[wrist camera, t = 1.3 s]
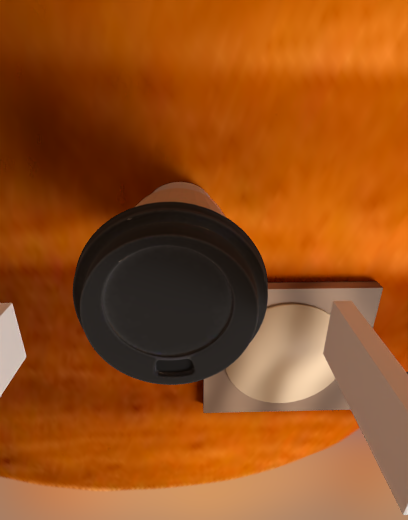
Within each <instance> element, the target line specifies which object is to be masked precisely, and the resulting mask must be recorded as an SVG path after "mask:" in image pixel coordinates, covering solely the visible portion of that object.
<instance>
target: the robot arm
mask: <svg viewBox="0 0 408 520" xmlns="http://www.w3.org/2000/svg"><path fill="white" fill-rule="evenodd" d="M323 355H324V357H325V359H326V361H327V363H328V365H329V367H330V369H331V371H332V373H333V375H334V377H335V379H336V381H337V383H338V385H339V387H340V389H341V391H342V393H343V395H344V397H345V399H346V401H347V403H348V405H349V407H350V409H351V411H352V413H353V415H354V417H355V419H356V421H357V423H358V425H359V427H360V429H361V431H362V433H363V435H364V437H365V439H366V441H367V443H368V445H369V447H370V449H371V451H372V453H373V455H374V457H375V459H376V461H377V463H378V465H379V467H380V469H381V471H382V473H383V475H384V477H385V479H386V481H387V483H388V485H389V487H390V489H391V491H392V493H393V495H394V497H395V499H396V501H397V503H398V505H399V507H400V510H401V512H402V514H403V515H408V372H406V371H405V370H404V369H403V367H402V366H401V365H400V364H399V362H398V361H397V360H396V358H395V357H394V356H393V354H392V353H391V352H390V350H389V349H388V348H387V347H386V345H385V344H384V343H383V341H382V340H381V339H380V337H379V336H378V335H377V333H376V332H375V331H374V330H373V328H372V327H371V326H370V324H369V323H368V322H367V320H366V319H365V318H364V317H363V315H362V314H361V313H360V311H359V310H358V309H357V307H356V306H355V305H354V303H353V302H352V301H333V303H332V309H331V314H330V319H329V325H328V330H327V335H326V341H325V346H324V351H323ZM25 358H26V353H25V349H24V346H23V342H22V338H21V334H20V331H19V327H18V323H17V319H16V316H15V312H14V308H13V304H12V303H0V396H1V395H2V393H3V392H4V390H5V389H6V387H7V386H8V384H9V383H10V381H11V379H12V378H13V376H14V375H15V373H16V372H17V370H18V369H19V367H20V366H21V364H22V363H23V361H24V360H25Z"/></svg>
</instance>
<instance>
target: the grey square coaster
mask: <svg viewBox="0 0 408 520" xmlns="http://www.w3.org/2000/svg"><path fill="white" fill-rule="evenodd" d="M382 290H383V287H382V286H381V285H380V284H379V283H378V282H377V281H372V282H283V283H268V303H267V309H266V313H265V317H264V320H263V322H262V325H261V327H260V329H259V331H258V332H257V334H256V335H255V337H254V338H253V340H252V341H251V342H250V343H249V345H248V347H247V348H246V350H245V351H244V352H243V353H242V355H241V356H240V357H239V358H238V359H237V360H236V361H235V362H234V363H232V364H231V365H230V366H229V367H227V368H226V369H224V370H223V371H221V372H219V373H217V374H215V375H213V376H211V377H209V378H206V379H203V410H204V413H219V412H263V411H307V410H351V409H350V407H349V405H348V403H347V401H346V399H345V397H344V395H343V393H342V391H341V389H340V387H339V385H338V383H337V381H336V379H335V377H334V375H333V373H332V371H331V369H330V367H329V365H328V363H327V361H326V359H325V357H324V355H323V351H324V346H325V341H326V335H327V330H328V325H329V319H330V314H331V309H332V303H333V301H352V302H353V303H354V305H355V306H356V307H357V309H358V310H359V311H360V313H361V314H362V315H363V317H364V318H365V319H366V320H367V322H368V323H369V324H370V326H371V327H372V328H373V325H374V321H375V317H376V313H377V309H378V305H379V302H380V298H381V294H382Z"/></svg>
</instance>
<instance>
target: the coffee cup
mask: <svg viewBox="0 0 408 520" xmlns="http://www.w3.org/2000/svg"><path fill="white" fill-rule="evenodd" d="M73 300H74V306H75V311H76V314H77V317H78V319H79V322H80V324H81V326H82V328H83V329H84V332H85V334H86V336H87V338H88V340H89V342H90V344H91V345H92V347H93V348H94V349H95V351H96V352H97V353H98V354H99V355H100V356H101V357H102V358H103V359H104V360H105V361H106V362H107V363H108V364H110V365H111V366H112V367H114V368H115V369H117V370H119V371H120V372H122V373H124V374H126V375H128V376H131V377H133V378H136V379H139V380H142V381H146V382H150V383H156V384H167V385H176V384H186V383H192V382H196V381H200V380H203V379H206V378H209V377H211V376H213V375H215V374H217V373H219V372H221V371H223V370H224V369H226V368H227V367H229V366H230V365H231V364H232V363H234V362H235V361H236V360H237V359H238V358H239V357H240V356H241V355H242V353H243V352H244V351H245V350H246V348H247V347H248V345H249V343H250V342H251V341H252V340H253V338H254V337H255V335H256V334H257V332H258V331H259V329H260V327H261V325H262V322H263V320H264V317H265V313H266V309H267V303H268V280H267V273H266V269H265V265H264V262H263V260H262V257H261V255H260V253H259V251H258V249H257V248H256V246H255V244H254V243H253V242H252V240H251V239H250V238H249V236H248V235H247V234H246V233H245V232H244V231H243V230H242V229H241V228H240V227H238V226H237V225H236V224H235V223H234V222H232V221H231V220H229V219H228V218H226V217H225V215H224V214H223V212H222V211H221V209H220V208H219V206H218V205H217V204H216V203H215V202H214V201H213V200H212V199H211V198H210V197H209V195H208V194H207V193H206V192H205V191H204V190H203V189H202V188H200V187H199V186H197V185H194V184H192V183H187V182H173V183H168V184H166V185H163V186H161V187H159V188H158V189H156V190H155V191H154V192H153V193H152V194H150V195H149V196H147V197H145V198H144V199H142V200H141V201H140V202H139V203H138V204H137V205H136V206H135V207H134V208H131V209H128V210H126V211H124V212H122V213H120V214H118V215H116V216H115V217H113V218H111V219H110V220H109V221H107V222H106V223H105V224H103V225H102V226H101V227H100V228H99V229H98V230H97V231H96V232H95V233H94V234H93V235H92V237H91V238H90V239H89V241H88V242H87V244H86V245H85V247H84V249H83V251H82V253H81V255H80V257H79V260H78V263H77V267H76V272H75V277H74V283H73Z"/></svg>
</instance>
